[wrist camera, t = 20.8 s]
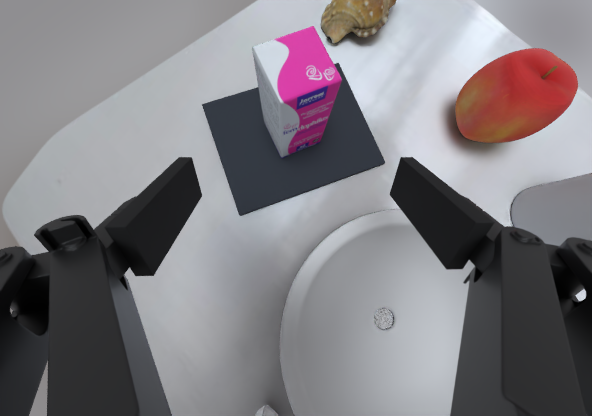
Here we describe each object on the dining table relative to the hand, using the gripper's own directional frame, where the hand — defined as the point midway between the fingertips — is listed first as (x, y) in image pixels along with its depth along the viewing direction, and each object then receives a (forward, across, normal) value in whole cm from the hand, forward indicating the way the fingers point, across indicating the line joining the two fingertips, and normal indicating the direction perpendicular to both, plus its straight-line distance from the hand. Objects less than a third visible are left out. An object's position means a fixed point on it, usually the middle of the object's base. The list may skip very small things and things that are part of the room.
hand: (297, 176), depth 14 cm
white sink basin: (0, +10, -19) cm, 22 cm away
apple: (+18, +25, -1) cm, 31 cm away
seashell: (+30, +10, +11) cm, 34 cm away
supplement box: (+17, 0, -2) cm, 17 cm away
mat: (+17, 0, -2) cm, 17 cm away
